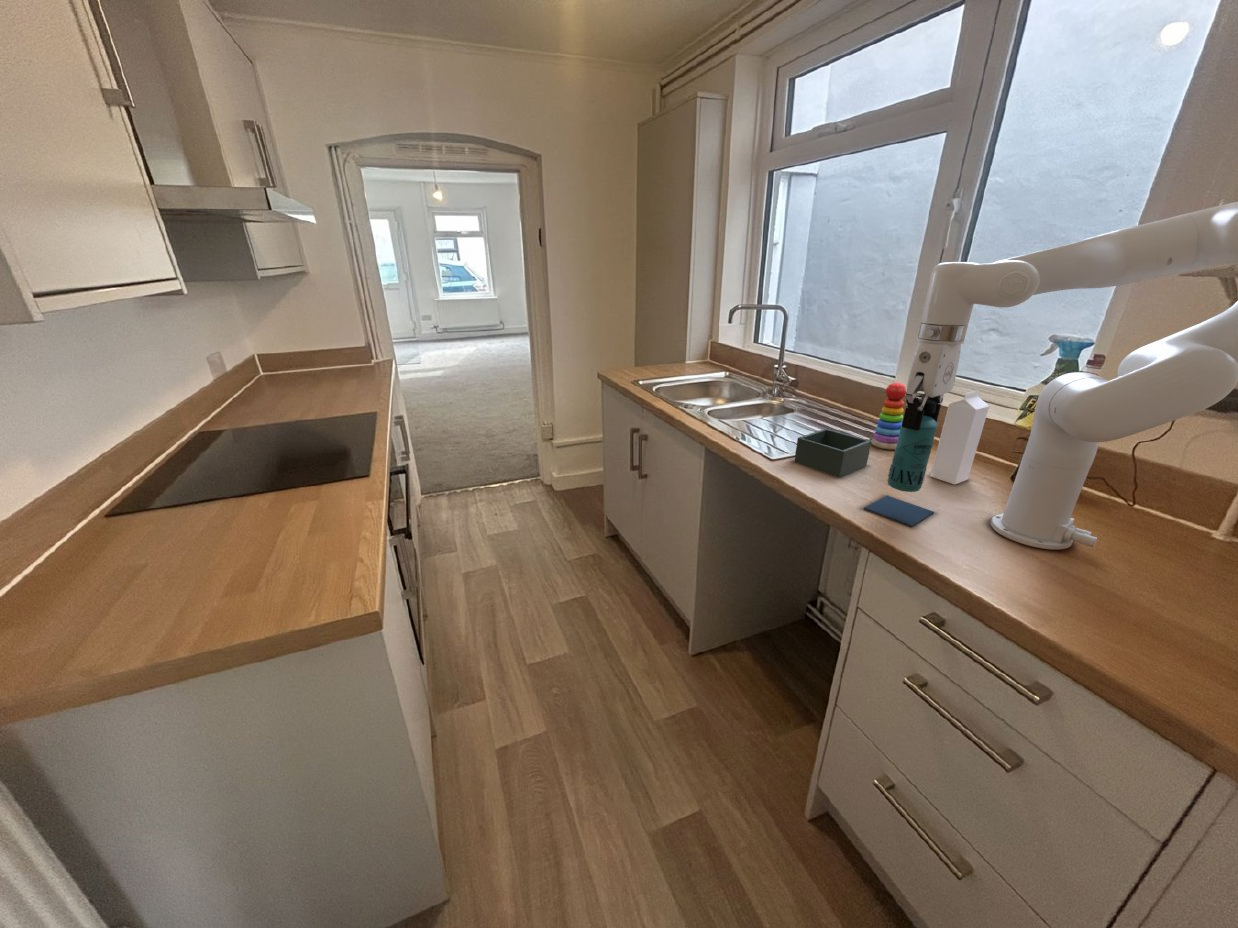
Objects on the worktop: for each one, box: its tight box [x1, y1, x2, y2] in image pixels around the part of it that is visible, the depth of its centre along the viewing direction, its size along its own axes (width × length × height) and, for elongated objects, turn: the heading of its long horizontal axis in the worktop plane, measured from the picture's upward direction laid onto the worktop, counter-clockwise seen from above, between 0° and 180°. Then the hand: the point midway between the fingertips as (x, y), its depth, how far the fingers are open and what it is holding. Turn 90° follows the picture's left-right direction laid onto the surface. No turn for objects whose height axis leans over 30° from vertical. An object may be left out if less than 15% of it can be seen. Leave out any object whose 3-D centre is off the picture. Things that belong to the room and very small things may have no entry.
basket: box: [793, 428, 872, 478], centre depth 128 cm, size 13×13×7 cm
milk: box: [929, 389, 990, 485], centre depth 116 cm, size 6×6×22 cm
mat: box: [863, 495, 935, 528], centre depth 104 cm, size 10×10×1 cm
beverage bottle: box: [887, 398, 939, 493], centre depth 98 cm, size 6×7×20 cm
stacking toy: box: [871, 382, 907, 451], centre depth 138 cm, size 8×8×19 cm
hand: (919, 424), depth 96 cm, fingers closed on beverage bottle, 6 cm apart
